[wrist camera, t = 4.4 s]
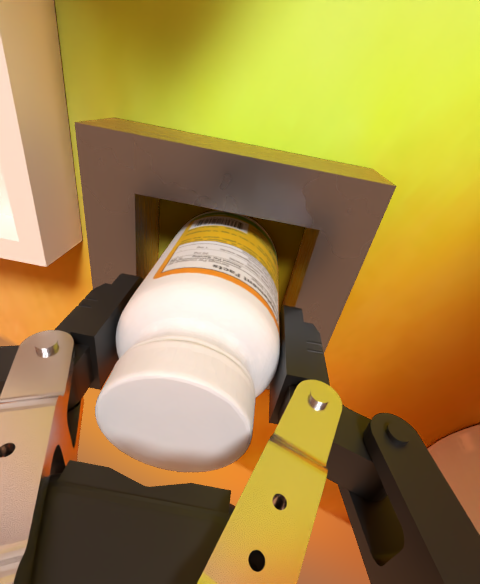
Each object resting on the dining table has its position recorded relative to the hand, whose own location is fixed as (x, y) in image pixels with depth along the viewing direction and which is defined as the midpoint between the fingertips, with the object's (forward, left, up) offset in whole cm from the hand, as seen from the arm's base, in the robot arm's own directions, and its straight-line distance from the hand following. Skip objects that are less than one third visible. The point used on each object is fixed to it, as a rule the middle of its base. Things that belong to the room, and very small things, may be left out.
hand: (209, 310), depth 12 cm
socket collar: (0, 0, -4) cm, 4 cm away
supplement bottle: (0, 0, -5) cm, 5 cm away
